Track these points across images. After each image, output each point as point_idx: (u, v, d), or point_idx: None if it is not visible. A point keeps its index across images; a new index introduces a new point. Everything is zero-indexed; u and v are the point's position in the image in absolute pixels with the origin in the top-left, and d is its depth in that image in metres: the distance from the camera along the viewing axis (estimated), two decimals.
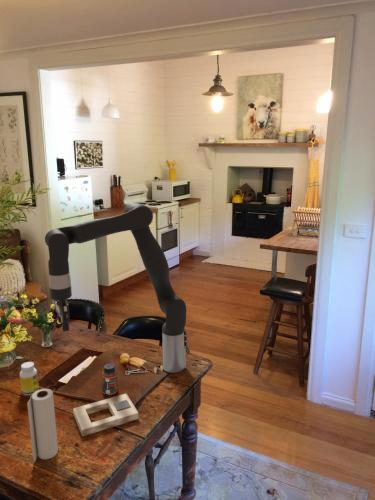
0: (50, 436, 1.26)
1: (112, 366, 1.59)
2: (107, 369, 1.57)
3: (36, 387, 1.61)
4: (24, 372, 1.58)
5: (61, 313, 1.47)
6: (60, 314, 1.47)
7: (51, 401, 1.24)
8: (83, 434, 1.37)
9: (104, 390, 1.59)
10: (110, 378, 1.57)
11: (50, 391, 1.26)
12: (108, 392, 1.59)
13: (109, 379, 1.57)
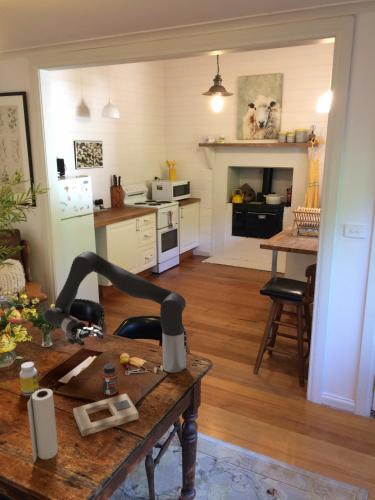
0: (50, 436, 1.26)
1: (112, 366, 1.59)
2: (107, 369, 1.57)
3: (36, 387, 1.61)
4: (24, 372, 1.58)
5: None
6: None
7: (51, 401, 1.24)
8: (83, 434, 1.37)
9: (104, 390, 1.59)
10: (110, 378, 1.57)
11: (50, 391, 1.26)
12: (108, 392, 1.59)
13: (109, 379, 1.57)
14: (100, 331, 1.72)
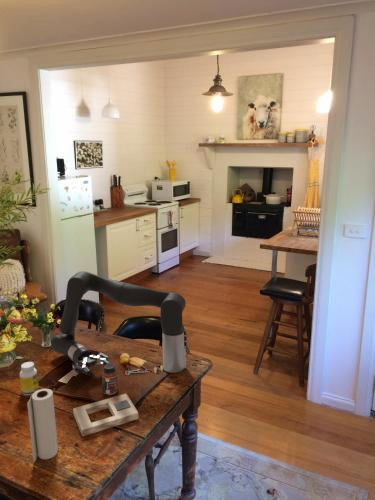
0: (50, 436, 1.26)
1: (112, 366, 1.59)
2: (107, 369, 1.57)
3: (36, 387, 1.61)
4: (24, 372, 1.58)
5: None
6: None
7: (51, 401, 1.24)
8: (83, 434, 1.37)
9: (104, 390, 1.59)
10: (110, 378, 1.57)
11: (50, 391, 1.26)
12: (108, 392, 1.59)
13: (109, 379, 1.57)
14: (106, 359, 1.72)
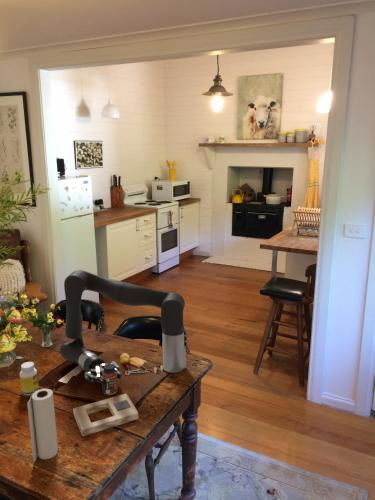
0: (50, 436, 1.26)
1: (112, 366, 1.59)
2: (107, 369, 1.57)
3: (36, 387, 1.61)
4: (24, 372, 1.58)
5: None
6: None
7: (51, 401, 1.24)
8: (83, 434, 1.37)
9: (104, 390, 1.59)
10: (110, 378, 1.57)
11: (50, 391, 1.26)
12: (108, 392, 1.59)
13: (109, 379, 1.57)
14: (117, 369, 1.65)
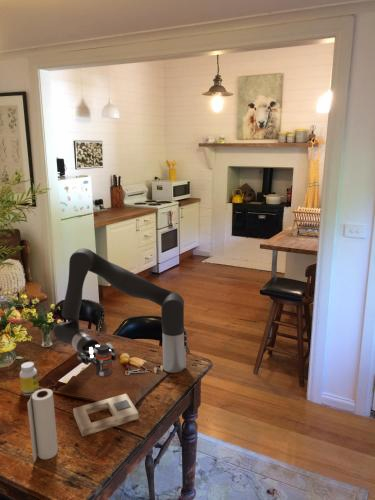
0: (50, 436, 1.26)
1: (106, 347, 1.51)
2: (101, 349, 1.49)
3: (36, 387, 1.61)
4: (24, 372, 1.58)
5: None
6: None
7: (51, 401, 1.24)
8: (83, 434, 1.37)
9: (97, 372, 1.51)
10: (103, 359, 1.49)
11: (50, 391, 1.26)
12: (102, 374, 1.51)
13: (103, 361, 1.49)
14: (112, 351, 1.56)
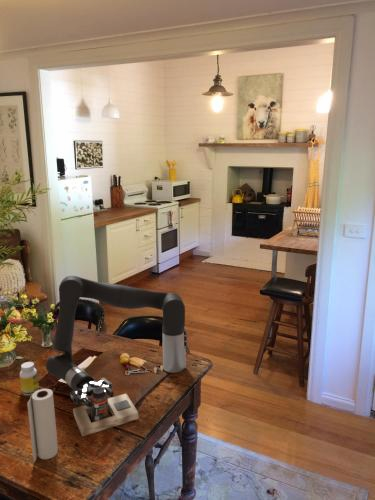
0: (50, 436, 1.26)
1: (102, 390, 1.44)
2: (97, 393, 1.42)
3: (36, 387, 1.61)
4: (24, 372, 1.58)
5: None
6: None
7: (51, 401, 1.24)
8: (83, 434, 1.37)
9: (93, 416, 1.44)
10: (99, 403, 1.42)
11: (50, 391, 1.26)
12: (97, 419, 1.43)
13: (98, 405, 1.42)
14: (110, 386, 1.50)
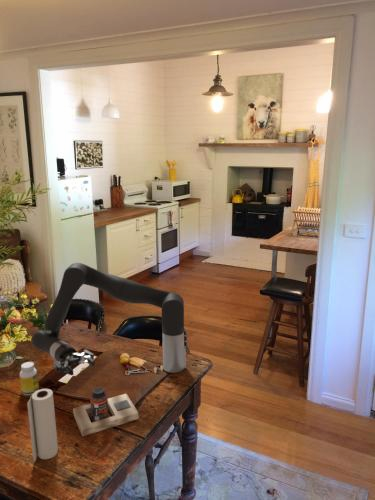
0: (50, 436, 1.26)
1: (102, 390, 1.44)
2: (96, 393, 1.42)
3: (36, 387, 1.61)
4: (24, 372, 1.58)
5: None
6: None
7: (51, 401, 1.24)
8: (83, 434, 1.37)
9: (93, 417, 1.44)
10: (99, 403, 1.42)
11: (50, 391, 1.26)
12: (97, 419, 1.43)
13: (98, 405, 1.42)
14: (91, 357, 1.57)
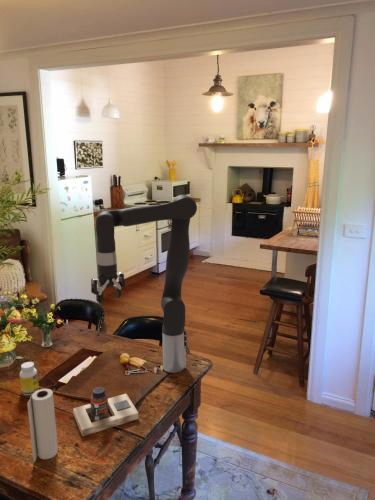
0: (50, 436, 1.26)
1: (102, 390, 1.44)
2: (96, 393, 1.42)
3: (36, 387, 1.61)
4: (24, 372, 1.58)
5: (98, 286, 1.64)
6: (98, 286, 1.64)
7: (51, 401, 1.24)
8: (83, 434, 1.37)
9: (93, 416, 1.44)
10: (99, 403, 1.42)
11: (50, 391, 1.26)
12: (97, 419, 1.43)
13: (98, 405, 1.42)
14: (121, 287, 1.70)
